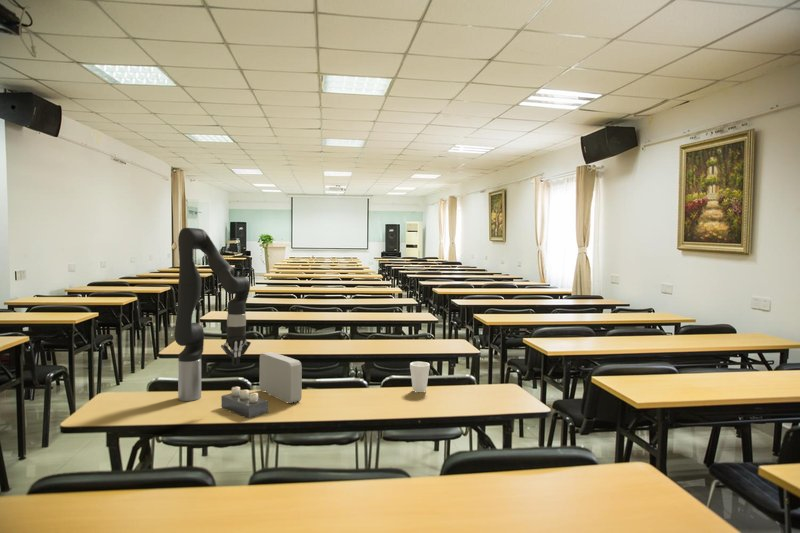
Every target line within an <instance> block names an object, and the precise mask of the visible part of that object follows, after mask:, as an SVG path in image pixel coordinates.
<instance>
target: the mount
mask: <svg viewBox="0 0 800 533" xmlns="http://www.w3.org/2000/svg"><path fill="white" fill-rule="evenodd" d="M220 405H221V406H220V407H222V408H221V409H224V410H227V411H229V412H231V413H234V414H235V415H238V416H240V417H244V418H245V419H248V420H249V419H253V418H257V417H259V416H262V415H265V414H269V400H268V399H265V398H262V397H259V396H258V402H256V403H250V402H249V398H248V399H240V395H239V396H232V392H231V393H228V394H224V395H223V394H222V395H221V404H220Z"/></svg>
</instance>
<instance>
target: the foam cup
mask: <svg viewBox="0 0 800 533" xmlns="http://www.w3.org/2000/svg"><path fill="white" fill-rule="evenodd" d="M409 369H410V376H411V386H412V391H413V390H414V391H416V392H424V391H426V392H427V387H428V379H429V373H430V369H431V365H430V363H429V362H426V361H412V362H410V363H409ZM416 392H415V393H416ZM424 393H425V392H424Z"/></svg>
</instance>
